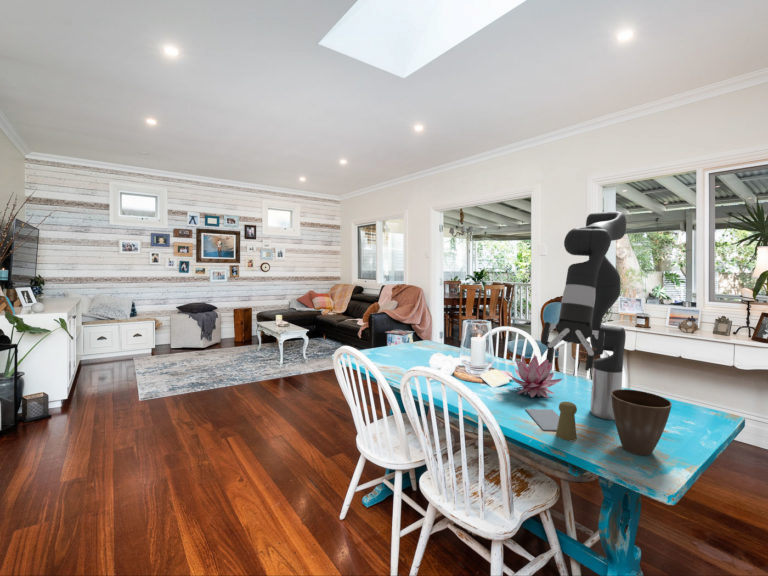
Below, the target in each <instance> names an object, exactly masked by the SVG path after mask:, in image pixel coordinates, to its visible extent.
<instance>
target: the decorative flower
mask: <svg viewBox="0 0 768 576" xmlns="http://www.w3.org/2000/svg"><path fill="white" fill-rule="evenodd" d="M515 361H516V362H515V363H516V366H517V368H515V367H514V371H515V373H516V375H517V377H518V378H520V379H521V380H520V379H518V378H516V377H515V376H514V377H513V376H512V375H511V374H509V373H508V372H505V373H506V374H507V375H508V376H509V377H511V379H512V380H513V381H514V382H515V383H516V384H518V386H519V387H513V389H514V390H517V389H521V390H519V391H518V392H516V394H523V393H524V395H527V394H528V395H529V396H530V397H531V398H533V397H535V396H537V397H539V398H541V396H542V397H544V398H547V399H549V398H550V397H549V395H548V394H550V395H555V394H556V393H554V392H553V391H551V390H549V388H550V387H552V386H555V385H556V384H558V383H560V382H561V381H562V380H563V377H562V378H556V379H553V377H554V374H555V372H551V371H552V369H553V363H554V361H553V362H552V363H549V362H548V361H549V360H547V358H546V359H545V360H543V362H541V363H540V364H539V361H538V357H537V355H534V356H533V357H532V359H531V360H530V362H529V364H528V365H527V363H526V360H525V356H524V355H522V356H521V360H518V358H517V357H516V358H515Z"/></svg>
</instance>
